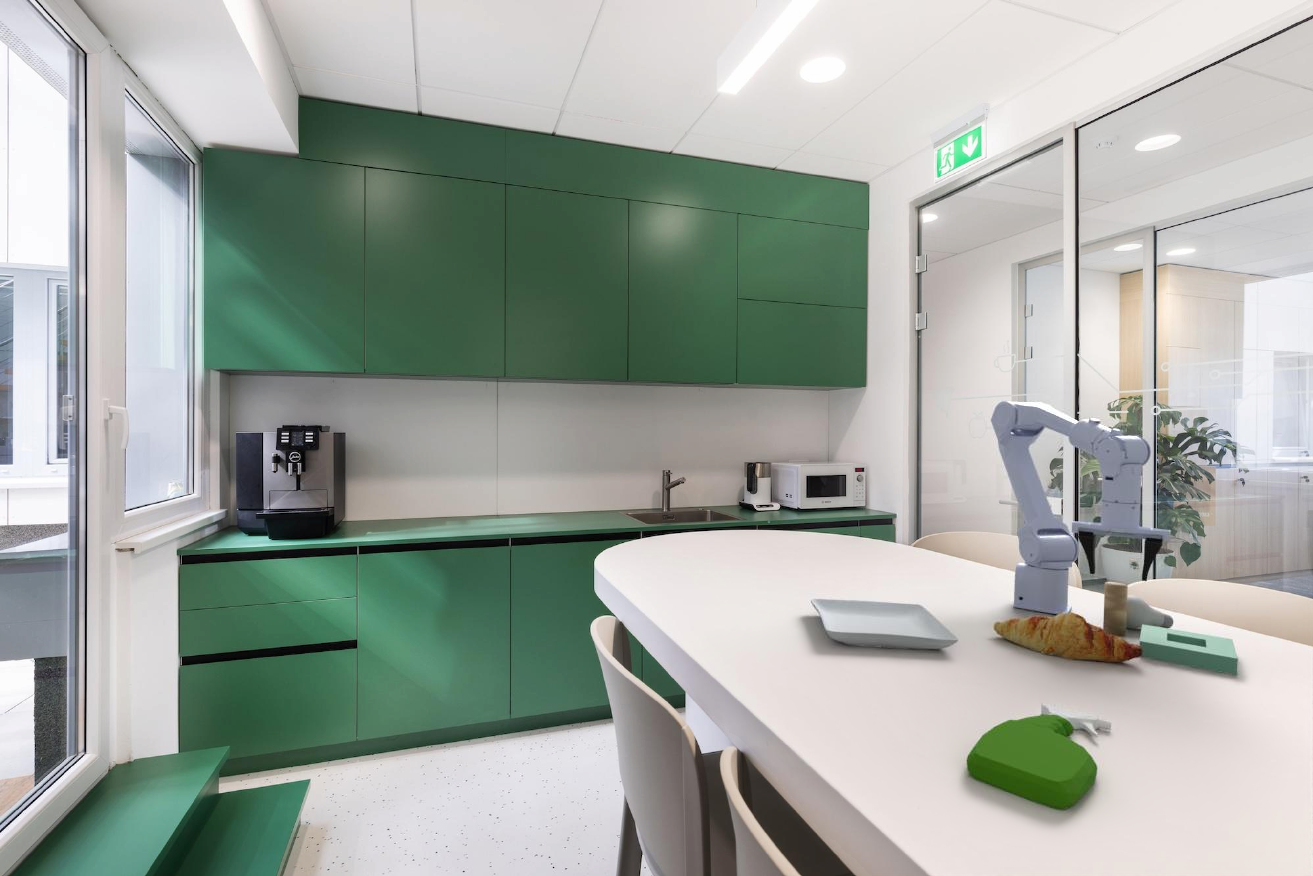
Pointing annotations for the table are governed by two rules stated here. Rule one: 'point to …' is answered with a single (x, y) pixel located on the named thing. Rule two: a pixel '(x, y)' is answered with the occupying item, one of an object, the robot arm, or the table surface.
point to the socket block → (1189, 649)
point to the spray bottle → (1038, 757)
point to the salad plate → (883, 624)
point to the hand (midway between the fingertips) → (1117, 576)
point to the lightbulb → (1145, 614)
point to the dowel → (1115, 608)
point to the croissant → (1067, 638)
